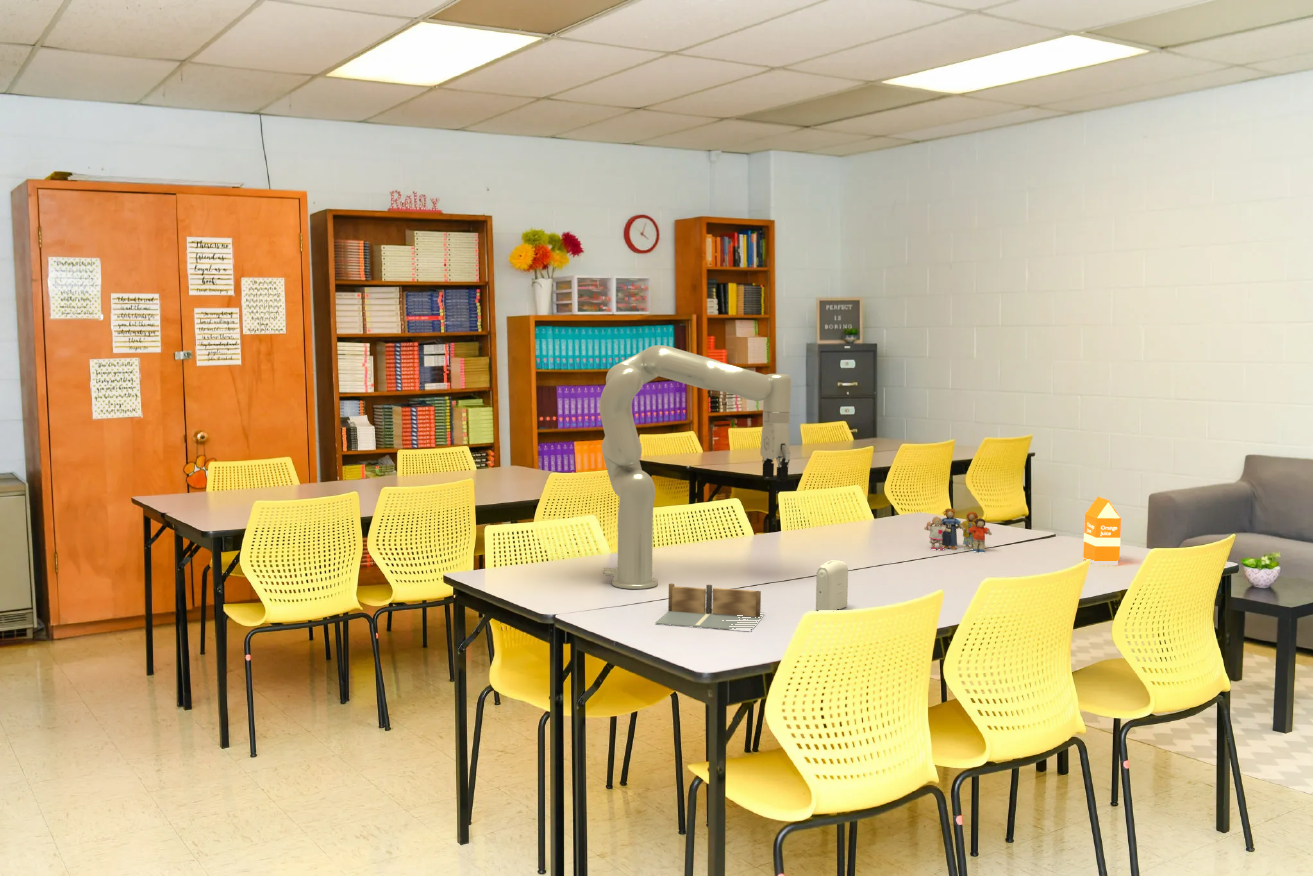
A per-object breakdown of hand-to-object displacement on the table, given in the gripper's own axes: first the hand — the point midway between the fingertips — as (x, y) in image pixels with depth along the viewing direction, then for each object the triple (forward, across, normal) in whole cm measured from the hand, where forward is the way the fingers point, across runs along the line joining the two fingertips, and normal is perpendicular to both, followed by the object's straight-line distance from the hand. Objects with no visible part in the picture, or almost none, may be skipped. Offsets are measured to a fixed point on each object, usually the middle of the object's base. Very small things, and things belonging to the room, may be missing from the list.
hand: (774, 479), depth 314 cm
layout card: (+28, +39, -33) cm, 58 cm away
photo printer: (+29, +37, 0) cm, 47 cm away
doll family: (+28, -29, +78) cm, 88 cm away
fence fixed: (+28, +32, -36) cm, 56 cm away
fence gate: (+28, +38, -26) cm, 54 cm away
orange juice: (+28, +3, +108) cm, 112 cm away
